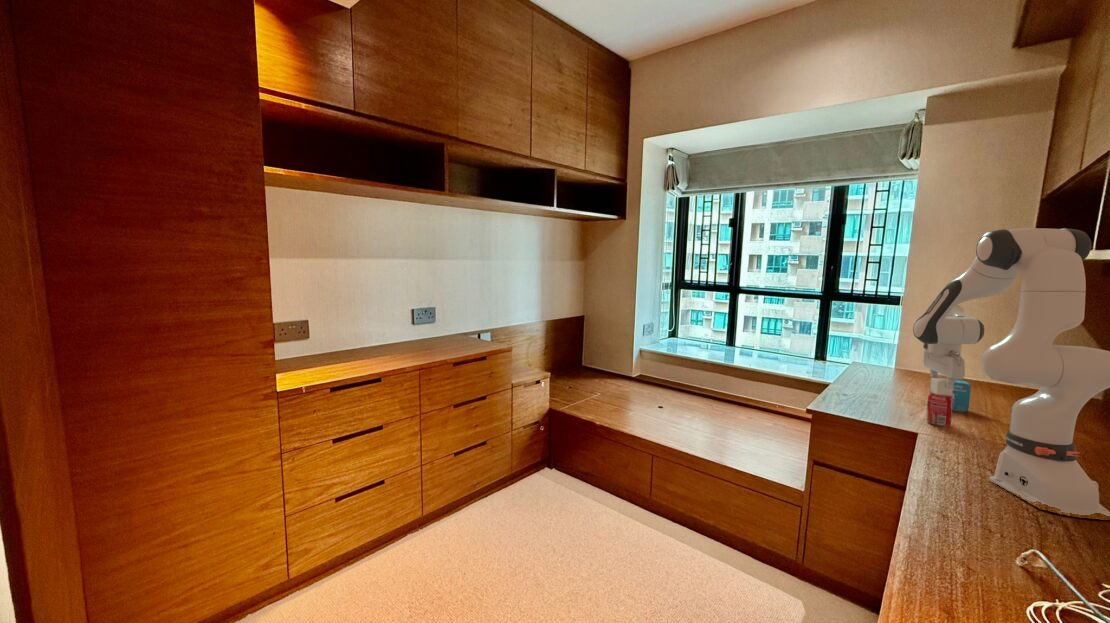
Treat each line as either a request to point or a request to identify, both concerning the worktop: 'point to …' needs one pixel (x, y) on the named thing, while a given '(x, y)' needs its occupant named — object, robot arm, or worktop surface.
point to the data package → (960, 395)
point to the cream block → (940, 387)
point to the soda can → (939, 409)
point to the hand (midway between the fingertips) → (941, 384)
